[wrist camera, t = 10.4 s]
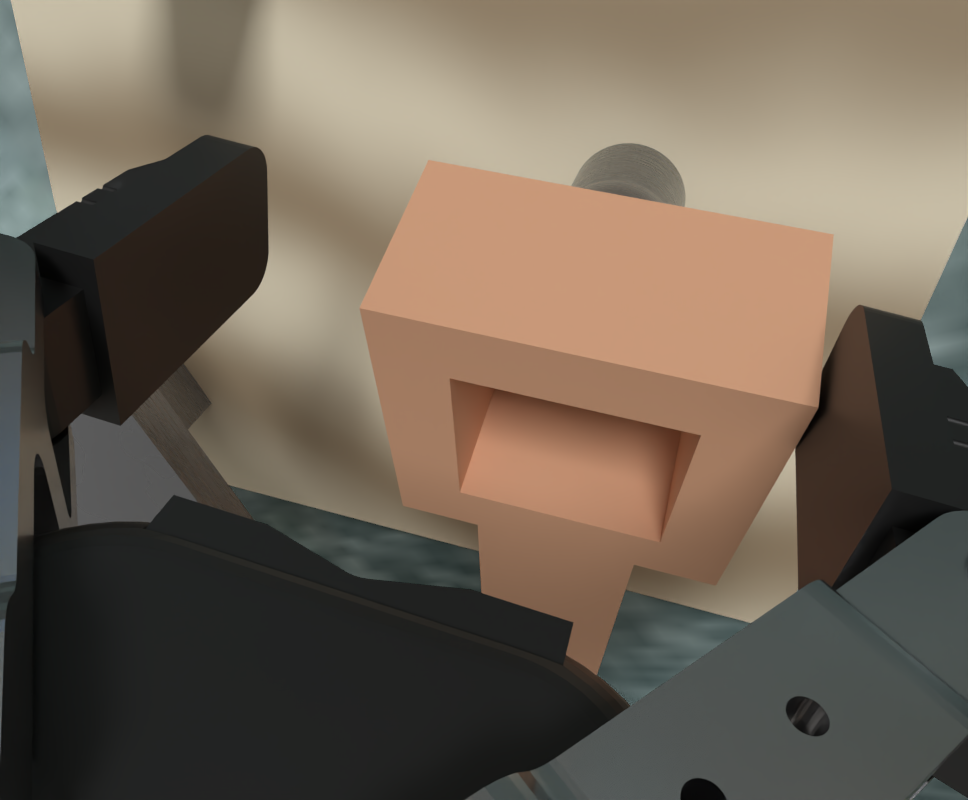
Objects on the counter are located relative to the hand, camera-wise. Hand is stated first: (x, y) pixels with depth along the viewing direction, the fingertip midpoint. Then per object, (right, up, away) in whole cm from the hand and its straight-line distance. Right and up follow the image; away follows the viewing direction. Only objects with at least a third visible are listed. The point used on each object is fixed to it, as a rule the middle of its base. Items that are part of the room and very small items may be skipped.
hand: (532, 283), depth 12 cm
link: (+2, -3, +7) cm, 8 cm away
